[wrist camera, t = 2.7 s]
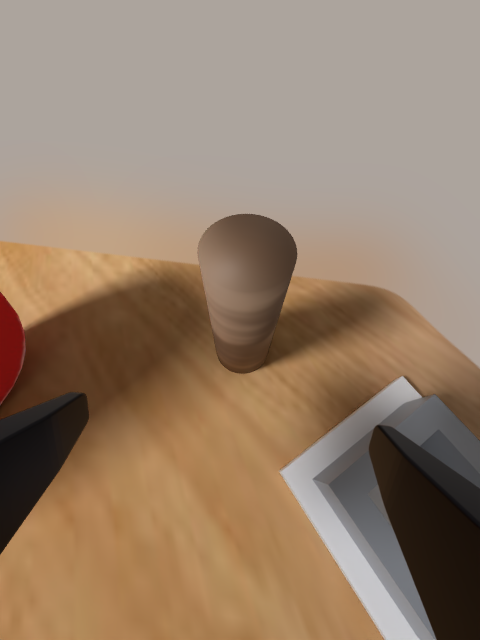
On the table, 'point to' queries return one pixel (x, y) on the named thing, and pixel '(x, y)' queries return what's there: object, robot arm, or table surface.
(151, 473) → the table surface
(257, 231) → the walnut peg
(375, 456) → the robot arm
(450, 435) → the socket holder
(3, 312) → the toy clock
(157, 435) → the table surface
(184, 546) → the table surface
